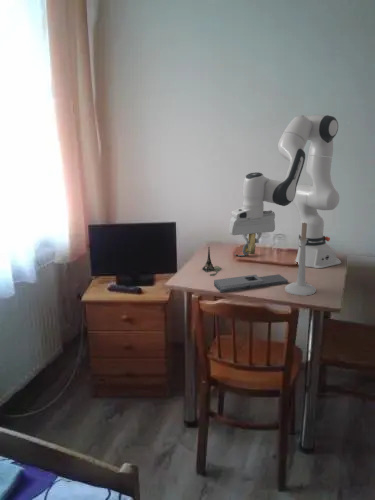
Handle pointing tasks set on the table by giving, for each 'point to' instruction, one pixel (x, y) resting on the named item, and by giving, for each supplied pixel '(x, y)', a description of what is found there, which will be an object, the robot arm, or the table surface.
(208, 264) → the eiffel tower figurine
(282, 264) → the table surface
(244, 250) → the pocket watch
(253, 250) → the brass pin
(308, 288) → the candlestick
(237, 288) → the long grey slab
